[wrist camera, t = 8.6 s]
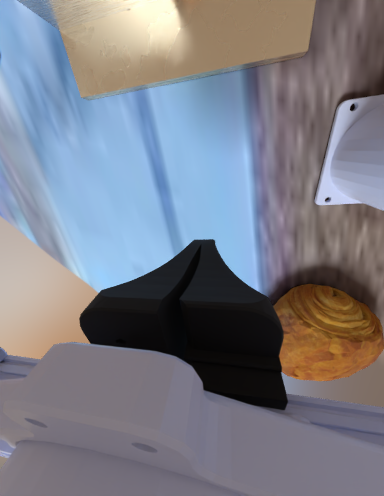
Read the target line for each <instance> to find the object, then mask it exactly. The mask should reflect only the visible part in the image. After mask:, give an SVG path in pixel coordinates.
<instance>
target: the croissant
mask: <svg viewBox="0 0 384 496" xmlns="http://www.w3.org/2000/svg"><path fill="white" fill-rule="evenodd" d="M273 307H274V309H275V311H276V313H277V315H278V317H279V320H280V322H281V325H282V328H283V331H284V339H283V343H282V347H281V351H280V355H279V358H280V361H281V365H282V372H283V373H284V374H286V375H287V376H291V377H293V378H296V379H300V380H316V381H330V380H334V379H339V378H342V377H349V376H351V375H352V374H354V373H356V372H357V371H359V370H361V369H364V368H366V367H368V366H369V365H370V364H372V363H373V362H375V360H376V359H377V358H378V356H379V355H380V354H381V352H382V351H383V349H384V340H383V331H382V326H381V323H380V320H379V319H378V318H377V317H376V315H375V314H373V313H372V312H371V311H370V309H369V308H368V306H367V305H366V304H365V303H364V304H363V303H360V302H359V301H357V300H356V299H353V297H351V296H349V295H348V294H346V293H345V292H344V291H340V290H338V289H335V288H332V287H330V286H321V285H314V284H305V285H301V286H297V287H294V288H292V289H291V290H290V291H289V292H288V293H286V294H285V295H284V296H282V297H281V298H280V299H279V300H278V302H277V303H276V304H275V305H274V306H273Z"/></svg>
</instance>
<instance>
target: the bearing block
mask: <svg viewBox="0 0 384 496" xmlns="http://www.w3.org/2000/svg"><path fill="white" fill-rule="evenodd" d="M18 1H19V2H20V3H22V4H23V5H25V6H26V7H27V8H29V9H30V10H32V11H33V12H34V13H36V14H37V15H39V16H40V17H41V18H43V19H44V20H46V21H47V22H48V23H50V24H51V25H53V26H54V27H55V28H57V29H58V30H60V33H61V36H62V39H63V42H64V45H65V48H66V51H67V55H68V58H69V61H70V64H71V67H72V70H73V73H74V76H75V79H76V82H77V85H78V89H79V92H80V95H81V98H83V99H86V100H94V99H99V98H104V97H109V96H114V95H118V94H123V93H128V92H133V91H138V90H143V89H148V88H153V87H158V86H163V85H168V84H173V83H178V82H183V81H188V80H192V79H197V78H202V77H207V76H212V75H217V74H222V73H227V72H232V71H237V70H242V69H247V68H252V67H257V66H262V65H266V64H271V63H276V62H281V61H286V60H291V59H296V58H301V57H303V56H304V55H305V53H306V52H307V51H308V47H309V41H310V34H311V28H312V22H313V15H314V9H315V2H316V0H18Z"/></svg>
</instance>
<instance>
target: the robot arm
mask: <svg viewBox="0 0 384 496" xmlns="http://www.w3.org/2000/svg"><path fill="white" fill-rule="evenodd" d="M352 104H354V105H355V108H354V110H353V111H350V106H351V105H352ZM327 197H329V200H328V201H325V199H326V198H327ZM315 203H316V204H318V205H333V204H353V203H365V204H368V205H370V206H373V207H375V208H378V209H380V210H383V211H384V94H383V95H376V96H370V97H363V98H357V99H350V100H346V101H344V102H342V103H341V104H340V105H339V106H338V107H337V110H336V114H335V118H334V122H333V126H332V130H331V134H330V139H329V143H328V147H327V151H326V155H325V159H324V163H323V167H322V172H321V176H320V180H319V184H318V188H317V192H316V196H315ZM80 327H81V329H82V331H83V332H84V334H85V336H86V337H87V339H88V340H89V342H90V343H91V344H85V343H77V342H69V343H59V344H55V345H53V346H52V347H51V349H50V350H49V351H48V352H47V353H46V354H45V355H44V357H43V358H42V359H41V360H40V359H33V358H26V357H18V356H12V355H7V353H6V352H5V350H3V349H2V348H1V347H0V456H2V457H6V458H8V460H7V461H6V462H5V464H4V465H3V467H2V468H1V470H0V496H384V407H378V406H370V405H362V404H355V403H349V402H342V401H335V400H327V399H320V398H313V397H306V396H299V395H291V394H286V391H285V387H284V383H283V379H282V375H281V372H282V365H281V361H280V358H279V355H280V351H281V347H282V343H283V339H284V331H283V328H282V325H281V322H280V320H279V317H278V315H277V313H276V311H275V309H274V307H273V306H272V304H271V302H270V300H269V299H268V297H266V296H265V295H263V294H261V293H260V292H258V291H256V290H254V289H253V288H251V287H250V286H248V285H247V284H245V283H244V282H243V281H242V280H240V279H239V278H238V277H237V276H236V275H235V274H234V273H233V272H232V271H231V270H230V269H229V268H228V266H227V265H226V264H225V262H224V261H223V259H222V258H221V256H220V254H219V252H218V250H217V248H216V245H215V241H214V240H213V239H210V240H194V241H192V242H191V243H190V244H189V245H188V246H187V247H186V248H185V249H184V250H182V251H181V252H180V253H179V254H178V255H176V256H175V257H174V258H173V259H171V260H170V261H168V262H167V263H166V264H164V265H162V266H161V267H159V268H157V269H155V270H153V271H152V272H150V273H148V274H146V275H144V276H141V277H139V278H137V279H134V280H132V281H129V282H126V283H123V284H120V285H117V286H114V287H111V288H107V289H104V290H101V291H100V293H99V294H98V295H97V296H96V297H95V298H94V300H93V301H92V302H91V303H90V304H89V305H88V307H87V308H86V309H85V310H84V311H83V313H82V314H81V316H80Z"/></svg>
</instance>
